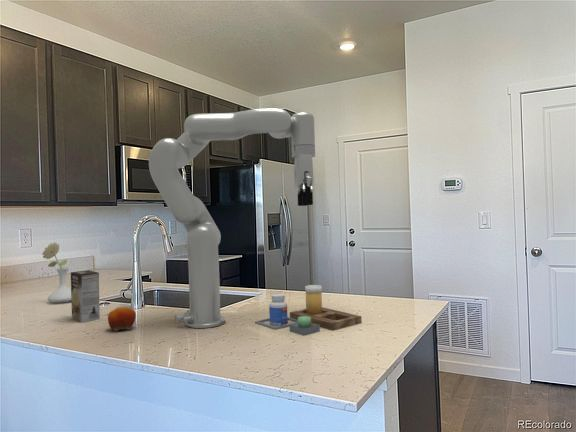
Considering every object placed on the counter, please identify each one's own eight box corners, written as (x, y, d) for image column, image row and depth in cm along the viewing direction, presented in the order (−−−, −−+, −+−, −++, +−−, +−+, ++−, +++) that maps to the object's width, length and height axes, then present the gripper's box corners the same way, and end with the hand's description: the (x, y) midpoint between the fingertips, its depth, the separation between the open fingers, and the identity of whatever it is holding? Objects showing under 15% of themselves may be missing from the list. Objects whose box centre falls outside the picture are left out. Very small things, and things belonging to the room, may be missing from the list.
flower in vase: (69, 297, 186) (68, 240, 186) (83, 300, 179) (82, 241, 179) (38, 303, 175) (36, 242, 175) (51, 306, 169) (49, 243, 169)
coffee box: (70, 318, 147) (69, 272, 147) (89, 315, 152) (88, 270, 152) (81, 322, 141) (80, 274, 141) (101, 319, 145) (99, 271, 145)
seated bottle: (313, 320, 131) (312, 288, 131) (302, 318, 135) (301, 286, 135) (326, 318, 134) (325, 286, 134) (314, 315, 138) (314, 284, 138)
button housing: (303, 339, 115) (303, 328, 115) (289, 335, 120) (289, 324, 120) (320, 335, 119) (319, 324, 119) (305, 331, 124) (305, 320, 124)
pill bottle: (285, 330, 126) (284, 296, 126) (267, 329, 127) (266, 296, 127) (289, 325, 131) (288, 293, 131) (272, 324, 132) (271, 293, 132)
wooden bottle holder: (332, 334, 119) (332, 323, 119) (290, 322, 134) (289, 312, 134) (361, 326, 127) (361, 316, 127) (318, 316, 142) (317, 306, 142)
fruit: (109, 330, 124) (108, 304, 128) (108, 339, 130) (106, 314, 134) (139, 326, 128) (136, 301, 132) (136, 335, 134) (133, 310, 138)
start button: (303, 327, 117) (303, 319, 117) (295, 324, 120) (295, 317, 120) (313, 324, 119) (313, 317, 119) (305, 322, 122) (304, 315, 122)
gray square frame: (275, 333, 122) (275, 327, 122) (255, 327, 130) (255, 321, 130) (302, 327, 128) (302, 321, 128) (281, 321, 136) (281, 315, 136)
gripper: (288, 156, 146) (290, 206, 146) (295, 148, 128) (297, 205, 128) (310, 155, 146) (311, 205, 147) (320, 147, 129) (321, 204, 129)
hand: (305, 205), depth 138 cm, fingers open, 9 cm apart
